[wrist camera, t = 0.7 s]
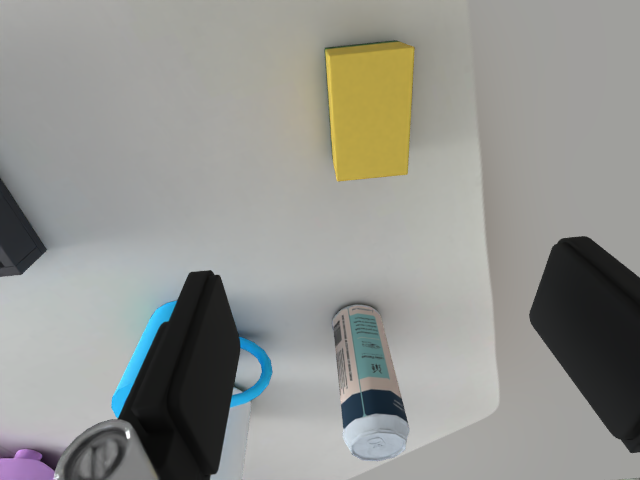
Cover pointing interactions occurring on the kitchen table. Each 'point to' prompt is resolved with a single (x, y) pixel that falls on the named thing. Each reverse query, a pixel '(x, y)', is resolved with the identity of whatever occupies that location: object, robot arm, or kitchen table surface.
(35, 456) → the teapot
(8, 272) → the tray
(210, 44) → the kitchen table surface
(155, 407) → the robot arm
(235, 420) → the can
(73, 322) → the kitchen table surface
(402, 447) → the beer can
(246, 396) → the mug
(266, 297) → the kitchen table surface
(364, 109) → the sponge
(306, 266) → the kitchen table surface
